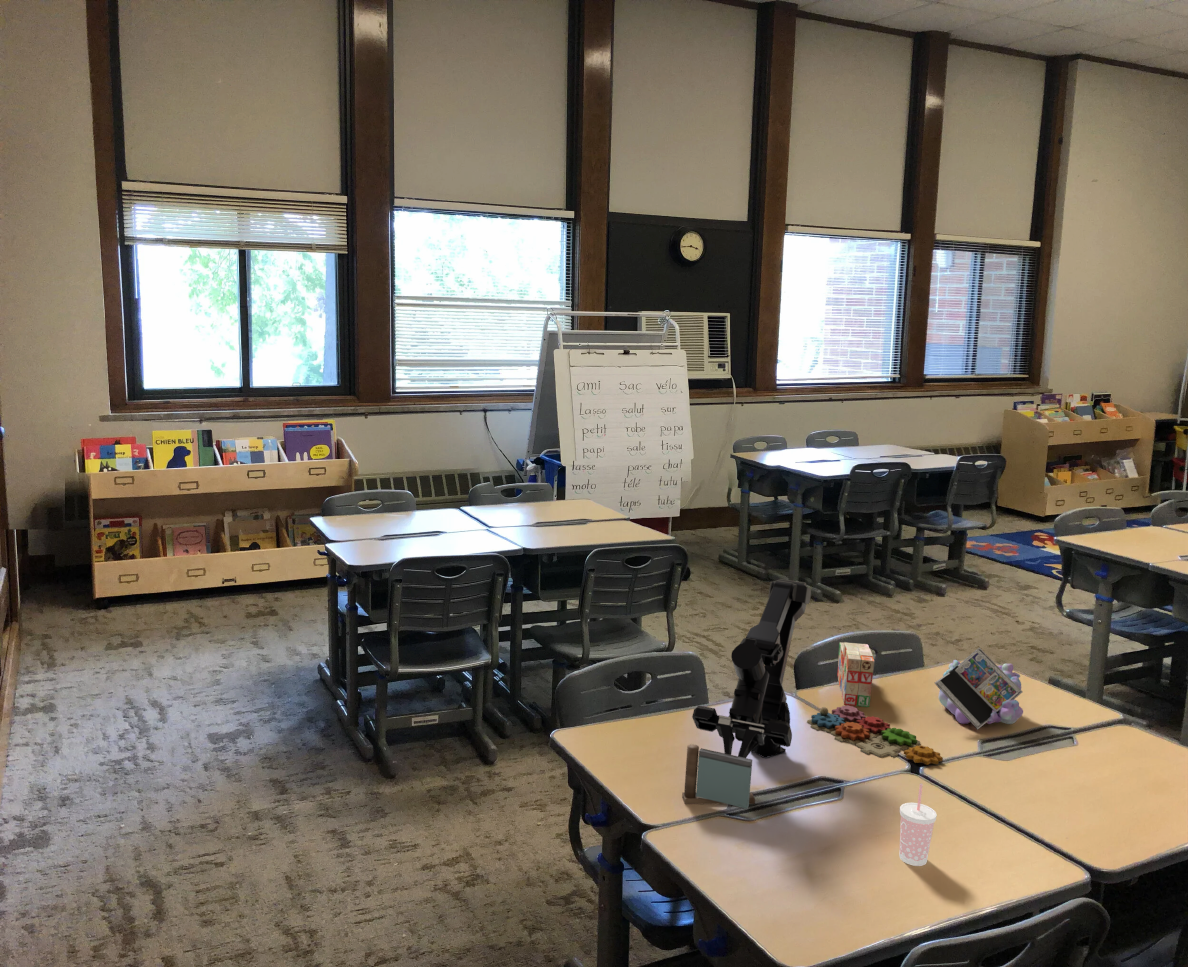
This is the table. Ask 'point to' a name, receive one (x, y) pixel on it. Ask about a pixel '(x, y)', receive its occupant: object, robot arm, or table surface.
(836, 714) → the gear puzzle
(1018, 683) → the bubbly comic picture frame
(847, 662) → the stack of blocks
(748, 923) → the table surface
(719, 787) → the panel
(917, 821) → the beverage cup
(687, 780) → the brown l-shaped piece
